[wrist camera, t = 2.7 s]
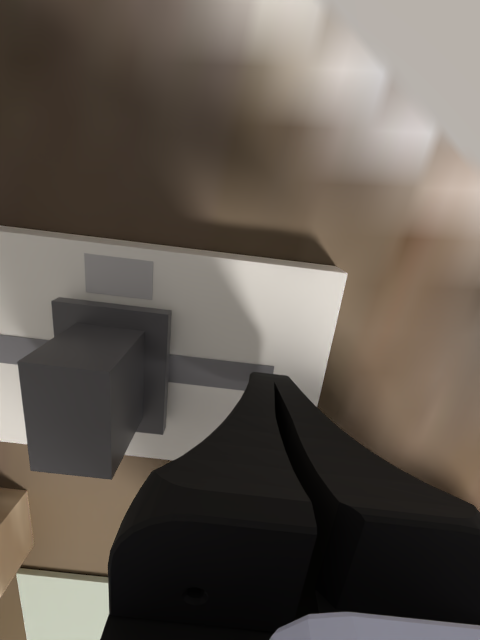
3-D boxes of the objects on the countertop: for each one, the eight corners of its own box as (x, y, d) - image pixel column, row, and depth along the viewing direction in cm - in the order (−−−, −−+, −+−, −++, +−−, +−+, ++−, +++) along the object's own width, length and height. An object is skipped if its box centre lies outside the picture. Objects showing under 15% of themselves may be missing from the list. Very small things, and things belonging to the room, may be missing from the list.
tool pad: (190, 585, 19) (189, 591, 19) (180, 682, 22) (179, 688, 22) (19, 568, 19) (16, 573, 18) (35, 668, 22) (32, 674, 22)
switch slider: (171, 310, 11) (141, 351, 8) (166, 426, 13) (138, 500, 10) (59, 297, 11) (-18, 333, 8) (67, 415, 13) (6, 485, 10)
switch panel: (336, 266, 13) (347, 273, 11) (296, 450, 16) (301, 475, 14) (-205, 200, 12) (-267, 199, 11) (-142, 401, 15) (-184, 421, 14)
